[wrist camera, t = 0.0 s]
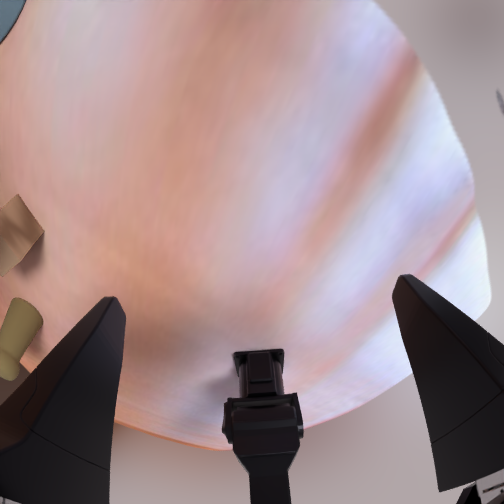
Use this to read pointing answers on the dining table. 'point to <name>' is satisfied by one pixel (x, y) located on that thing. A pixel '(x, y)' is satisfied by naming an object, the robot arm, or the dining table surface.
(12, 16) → the cocktail glass
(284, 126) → the dining table surface
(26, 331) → the cork
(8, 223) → the walnut block
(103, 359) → the robot arm
